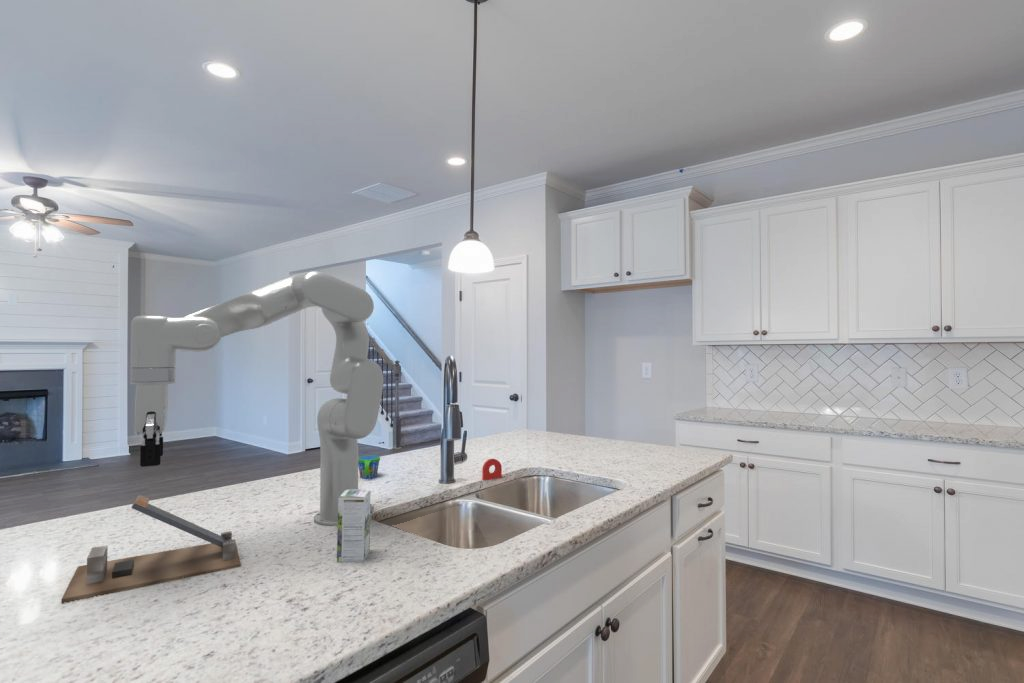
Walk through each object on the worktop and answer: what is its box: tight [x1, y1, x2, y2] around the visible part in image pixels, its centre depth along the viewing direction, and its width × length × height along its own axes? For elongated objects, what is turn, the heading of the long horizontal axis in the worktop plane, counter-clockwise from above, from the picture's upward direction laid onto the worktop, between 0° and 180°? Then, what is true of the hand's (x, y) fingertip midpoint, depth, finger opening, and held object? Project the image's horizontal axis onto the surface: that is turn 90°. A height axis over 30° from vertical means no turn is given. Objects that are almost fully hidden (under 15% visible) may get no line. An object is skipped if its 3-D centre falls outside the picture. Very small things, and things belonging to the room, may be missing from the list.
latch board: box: [60, 531, 242, 604], centre depth 105 cm, size 28×16×6 cm, turn 122°
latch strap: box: [131, 494, 232, 548], centre depth 107 cm, size 21×5×2 cm
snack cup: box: [358, 454, 381, 480], centre depth 179 cm, size 11×8×7 cm
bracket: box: [481, 458, 503, 481], centre depth 174 cm, size 12×4×8 cm, turn 120°
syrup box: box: [336, 488, 372, 563], centre depth 110 cm, size 6×6×14 cm
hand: (152, 460), depth 104 cm, fingers open, 9 cm apart
